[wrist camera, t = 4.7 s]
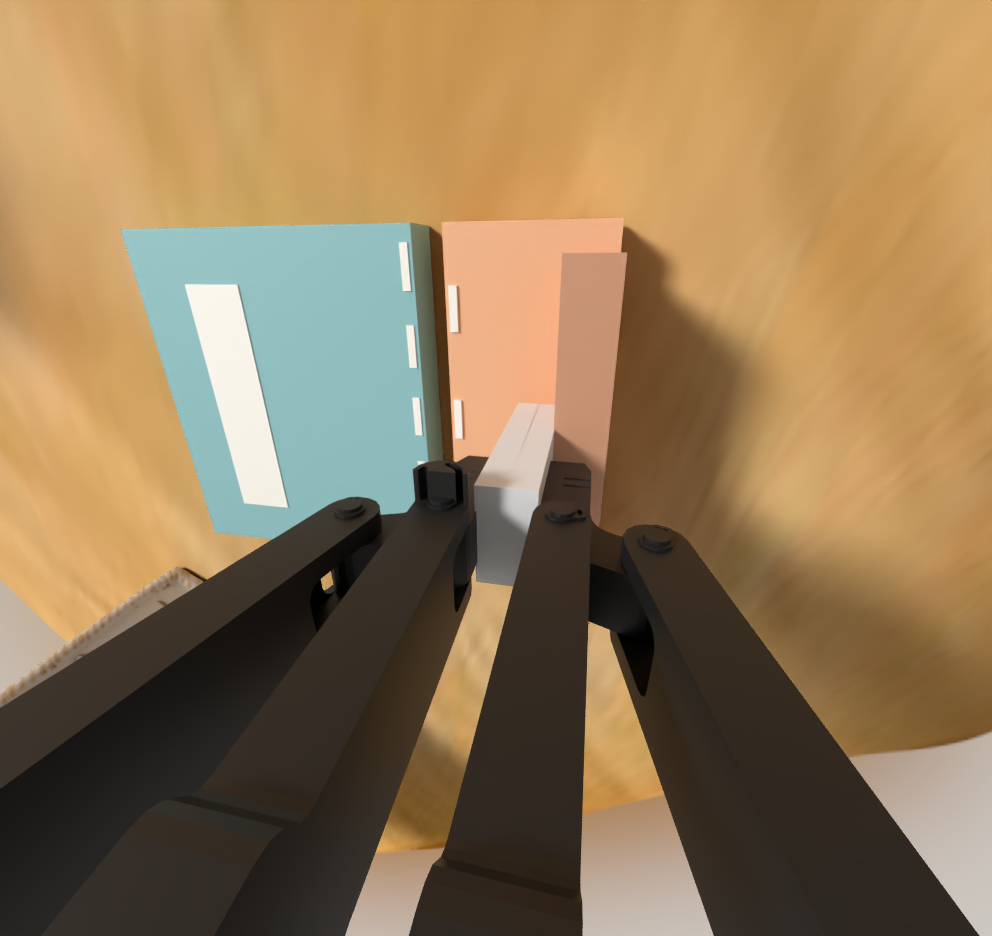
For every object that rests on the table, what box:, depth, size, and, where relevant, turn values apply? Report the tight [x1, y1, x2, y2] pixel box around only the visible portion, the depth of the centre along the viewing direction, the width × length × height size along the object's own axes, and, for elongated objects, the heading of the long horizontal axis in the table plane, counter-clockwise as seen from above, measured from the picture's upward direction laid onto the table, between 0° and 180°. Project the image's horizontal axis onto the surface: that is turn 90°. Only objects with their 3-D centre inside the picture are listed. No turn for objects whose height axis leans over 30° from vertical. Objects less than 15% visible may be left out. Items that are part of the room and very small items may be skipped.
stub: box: [442, 218, 627, 624], centre depth 17 cm, size 14×6×6 cm, turn 0°
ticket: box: [121, 223, 443, 539], centre depth 21 cm, size 14×12×2 cm
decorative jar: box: [0, 567, 204, 708], centre depth 24 cm, size 12×12×18 cm
